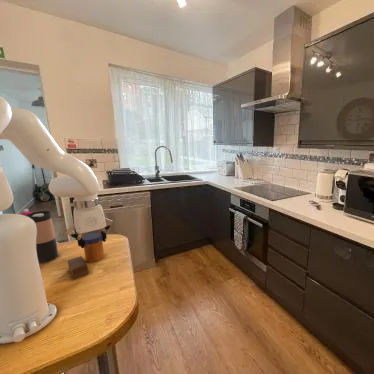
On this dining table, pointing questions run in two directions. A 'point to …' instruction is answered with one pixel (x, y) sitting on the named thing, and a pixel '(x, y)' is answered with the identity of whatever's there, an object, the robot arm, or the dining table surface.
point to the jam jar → (94, 251)
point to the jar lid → (92, 238)
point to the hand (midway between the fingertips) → (93, 243)
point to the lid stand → (78, 267)
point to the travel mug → (44, 236)
